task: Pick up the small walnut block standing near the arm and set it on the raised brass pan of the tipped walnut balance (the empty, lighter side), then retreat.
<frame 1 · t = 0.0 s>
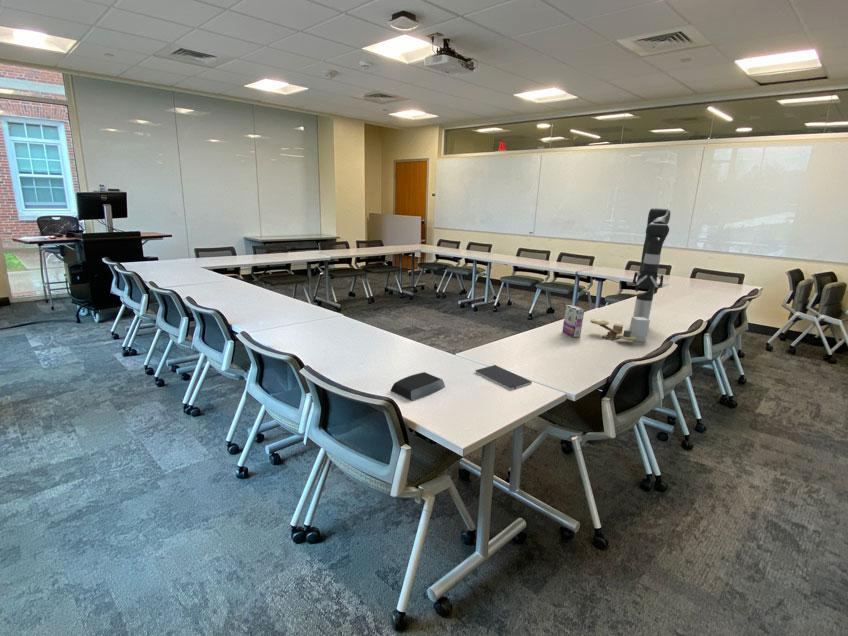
hand: (645, 292, 240), 29 cm above the table, fingers open, 8 cm apart
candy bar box: (571, 334, 260), on the table
external hard drive: (418, 390, 178), on the table
notebook: (502, 379, 193), on the table
walnut block: (616, 333, 269), on the table
supplement box: (636, 339, 258), on the table
balance: (611, 337, 258), on the table
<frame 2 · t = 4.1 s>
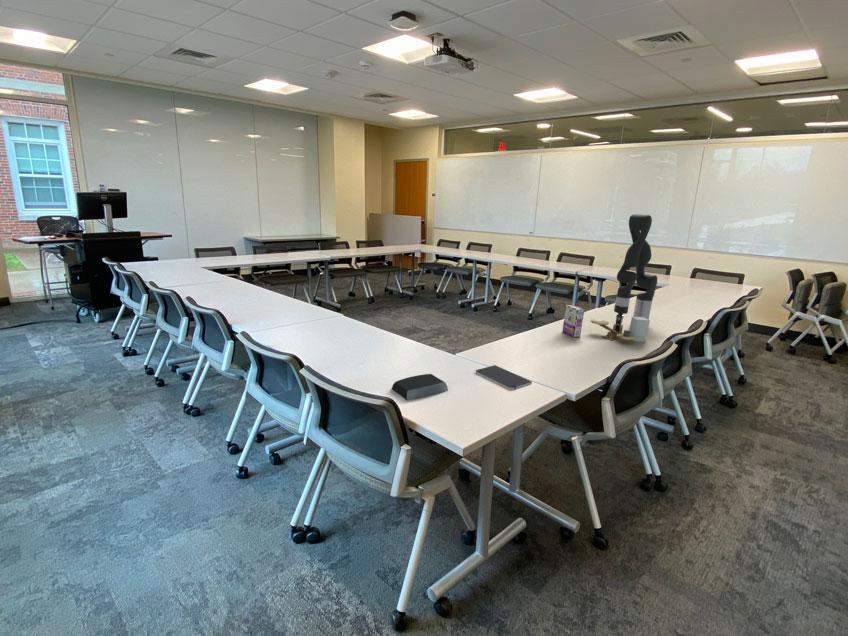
hand: (617, 332, 268), 0 cm above the table, fingers closed on walnut block, 5 cm apart
walnut block: (616, 332, 269), on the table, touching gripper
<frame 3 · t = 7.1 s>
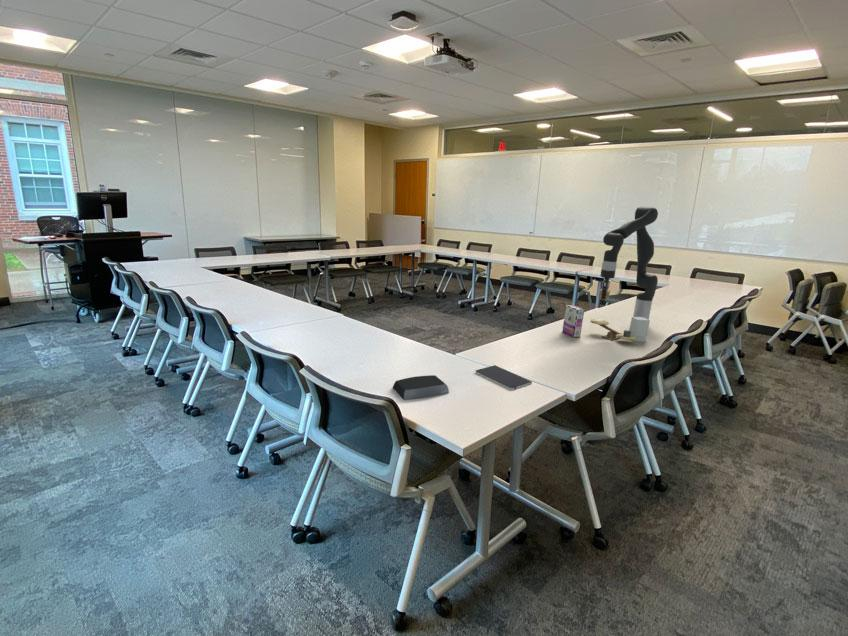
hand: (603, 298, 259), 21 cm above the table, fingers closed on walnut block, 5 cm apart
walnut block: (603, 299, 259), point 21 cm above the table, touching gripper
when the fingers open (9 cm above the table, at t = 10.2 s): walnut block drops 1 cm, resting on balance.
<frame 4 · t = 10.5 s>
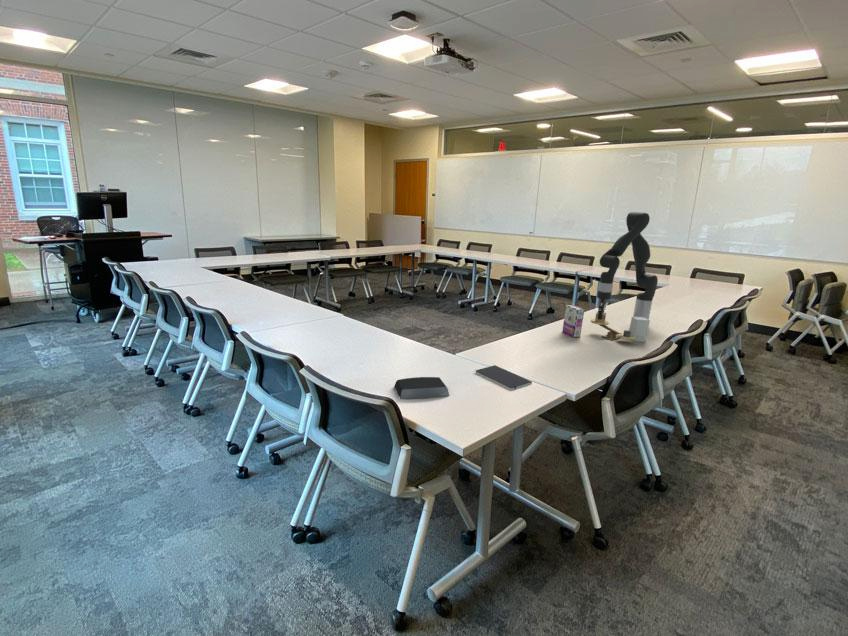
hand: (600, 317, 262), 10 cm above the table, fingers open, 7 cm apart
walnut block: (599, 321, 263), point 7 cm above the table, touching balance
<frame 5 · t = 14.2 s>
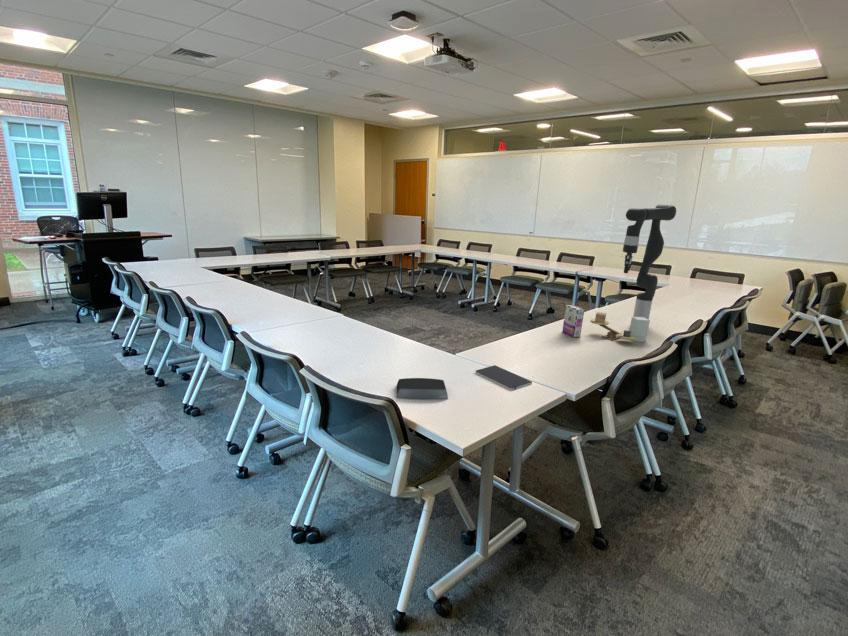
hand: (626, 272, 262), 36 cm above the table, fingers open, 8 cm apart
at the end: walnut block inside the target area (0.1 cm from its centre), point 7.4 cm above the table; the gripper is holding nothing; walnut block touching balance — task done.
